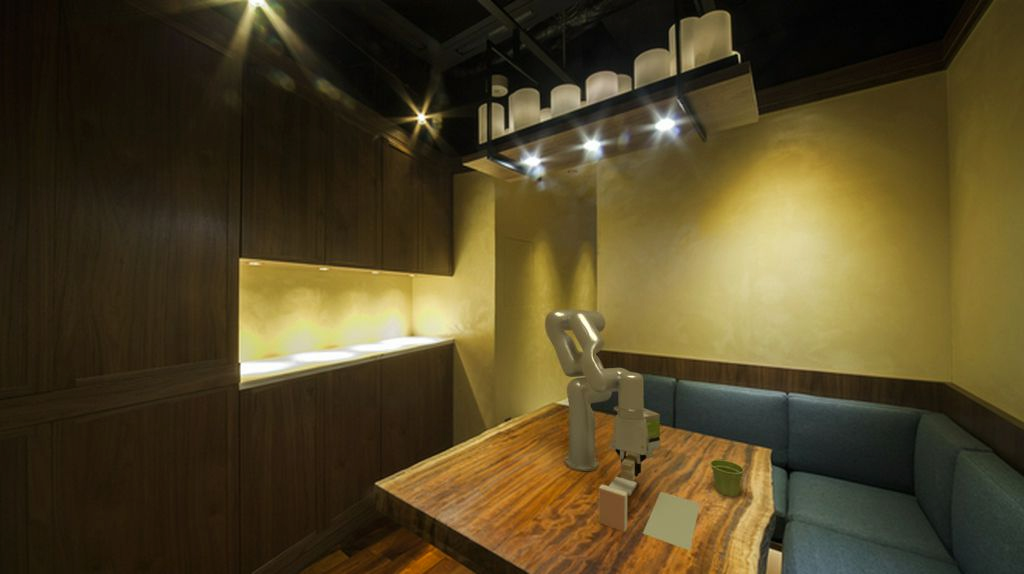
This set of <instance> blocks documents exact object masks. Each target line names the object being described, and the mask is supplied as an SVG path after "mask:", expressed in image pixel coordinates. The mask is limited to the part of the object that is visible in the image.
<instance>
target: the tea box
mask: <svg viewBox="0 0 1024 574" xmlns="http://www.w3.org/2000/svg"><path fill="white" fill-rule="evenodd" d="M644 418H645V419H646V422H647V428H648V437H649V446H650V448H651V450H652V452H653V451H656V450H659V449H661V447H660V442H661V441H660V439H661V437H660V436H661V435H660V434H661V423H660V422H661V414H659V413H658V412H655V411H653V410H651V409H647V408H645V407H644Z"/></svg>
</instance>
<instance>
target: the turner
mask: <svg viewBox="0 0 1024 574" xmlns="http://www.w3.org/2000/svg"><path fill="white" fill-rule="evenodd" d="M635 462H636V454H634V453H630V452H628V454H626V458H625V459H624V460H623V462H622V463H621V462H620V476H615V477H614V479H613V480H612V481H611V482H610V483H609V485H608V486H609V487H612V488H615V489H618V490H622V491H625V492H627V496H631V495H632V493H633V492H634V491H635V488H636V487H637V481H634V480H635V479H636V476H635ZM643 462H644V461H642V462H641V468H642V467H643Z"/></svg>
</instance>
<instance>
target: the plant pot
mask: <svg viewBox="0 0 1024 574" xmlns="http://www.w3.org/2000/svg"><path fill="white" fill-rule="evenodd" d="M709 465H710V466H711V470H712V473H713V480H714V485H715V486H714V487H715V490H716V492H717V493H719V494H720V495H721V494H722V495H724V496H727V497H732V498H734V497H738V496H739V494H740V488H741V487H740V486H741V480H742V477H743V474H744V473H745V469H744V468H743V466H741V465H739V464H738V463H736V462H733V461H730V460H729V461H728V460H724V459H713V460H711V461H709Z"/></svg>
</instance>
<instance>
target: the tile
mask: <svg viewBox="0 0 1024 574" xmlns="http://www.w3.org/2000/svg"><path fill="white" fill-rule="evenodd" d="M598 490H599V491H598V493H599V494H598V523H599V524H600V525H601V524H602V525H604V526H607V527H610V528H612V529H615V530H618V531H620V532H623V533H625V532H626V531H627V529H628V495H627V492H625V491H622V490H618V489H615V488H612V487H609V485H605V484H600V486H599V487H598Z"/></svg>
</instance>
